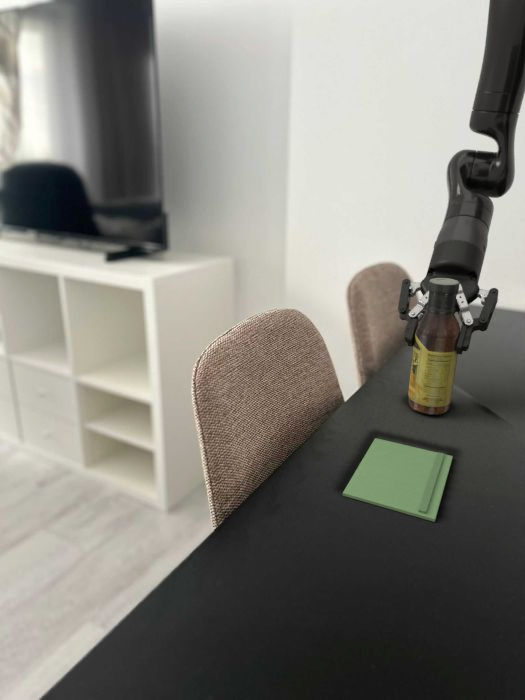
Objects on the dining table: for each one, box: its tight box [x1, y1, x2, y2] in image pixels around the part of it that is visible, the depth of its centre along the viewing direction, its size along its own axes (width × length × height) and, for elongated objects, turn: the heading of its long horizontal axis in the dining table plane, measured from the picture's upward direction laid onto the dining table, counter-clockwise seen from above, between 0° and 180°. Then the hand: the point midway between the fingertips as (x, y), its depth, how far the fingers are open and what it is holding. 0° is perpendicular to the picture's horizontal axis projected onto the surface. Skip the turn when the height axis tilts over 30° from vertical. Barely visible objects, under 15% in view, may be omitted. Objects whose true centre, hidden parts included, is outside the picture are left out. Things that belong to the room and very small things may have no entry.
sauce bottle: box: [407, 278, 461, 416], centre depth 75 cm, size 7×6×20 cm
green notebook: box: [342, 437, 454, 523], centre depth 61 cm, size 14×10×1 cm
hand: (433, 347), depth 73 cm, fingers closed on sauce bottle, 6 cm apart
